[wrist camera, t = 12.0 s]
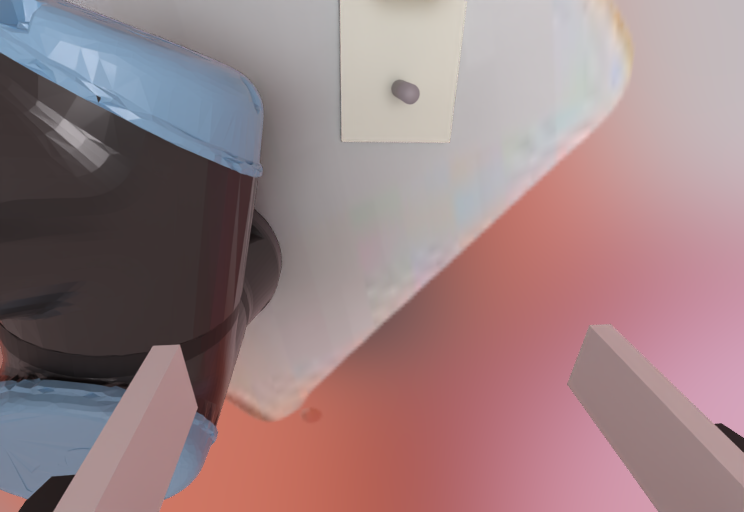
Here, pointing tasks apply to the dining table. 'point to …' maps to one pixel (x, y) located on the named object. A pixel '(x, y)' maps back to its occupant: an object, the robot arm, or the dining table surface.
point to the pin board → (399, 69)
